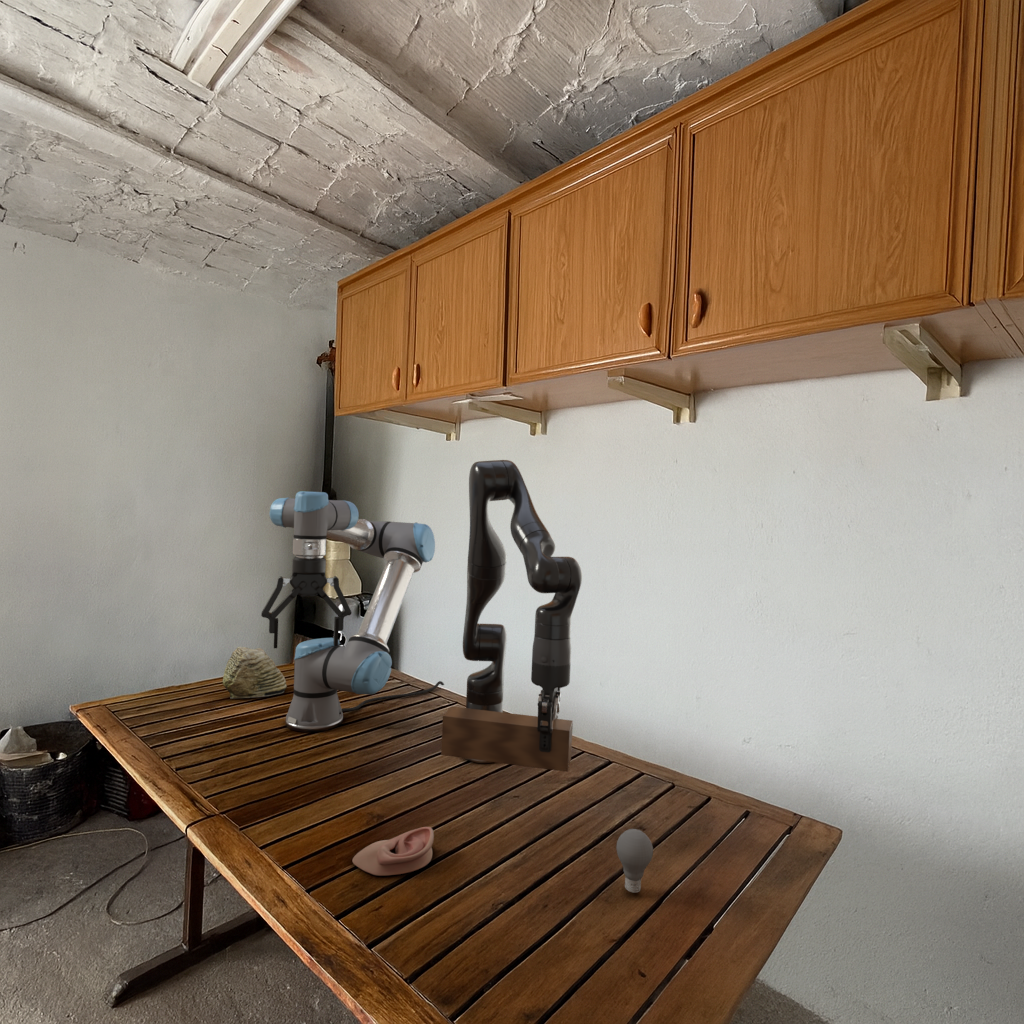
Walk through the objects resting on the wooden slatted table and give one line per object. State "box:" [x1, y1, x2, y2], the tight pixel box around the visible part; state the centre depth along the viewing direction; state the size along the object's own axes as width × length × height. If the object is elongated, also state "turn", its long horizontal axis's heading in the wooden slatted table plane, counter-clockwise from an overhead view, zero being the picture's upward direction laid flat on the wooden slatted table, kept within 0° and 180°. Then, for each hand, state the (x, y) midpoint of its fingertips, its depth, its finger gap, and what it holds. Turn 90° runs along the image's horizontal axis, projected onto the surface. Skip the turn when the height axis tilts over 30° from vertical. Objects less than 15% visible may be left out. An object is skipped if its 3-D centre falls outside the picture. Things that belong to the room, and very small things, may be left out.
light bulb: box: [615, 828, 654, 894], centre depth 106 cm, size 6×6×10 cm
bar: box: [440, 706, 574, 773], centre depth 125 cm, size 25×6×8 cm, turn 78°
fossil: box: [222, 646, 288, 699], centre depth 198 cm, size 9×18×15 cm, turn 132°
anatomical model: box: [351, 826, 435, 877], centre depth 112 cm, size 13×4×12 cm
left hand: (306, 645), depth 150 cm, fingers open, 13 cm apart
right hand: (547, 744), depth 123 cm, fingers closed on bar, 6 cm apart
